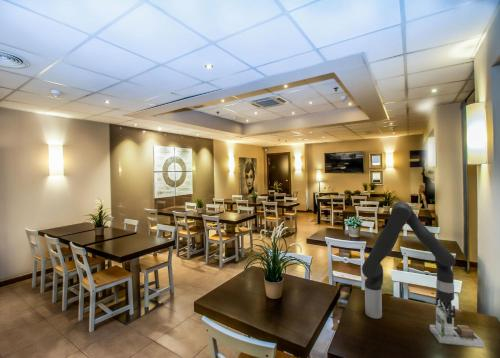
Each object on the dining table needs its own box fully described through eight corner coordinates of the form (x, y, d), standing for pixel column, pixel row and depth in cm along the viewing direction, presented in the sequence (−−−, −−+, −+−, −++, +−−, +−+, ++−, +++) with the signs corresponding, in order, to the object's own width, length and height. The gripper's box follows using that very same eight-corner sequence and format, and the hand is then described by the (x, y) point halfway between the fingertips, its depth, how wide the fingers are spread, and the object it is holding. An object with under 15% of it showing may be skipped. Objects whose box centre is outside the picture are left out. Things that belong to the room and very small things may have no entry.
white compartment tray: (429, 329, 140) (429, 324, 140) (469, 333, 136) (469, 328, 136) (439, 342, 130) (439, 337, 130) (483, 347, 125) (483, 341, 125)
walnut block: (456, 335, 135) (456, 324, 135) (467, 336, 134) (467, 325, 134) (462, 342, 130) (462, 330, 130) (473, 343, 129) (473, 331, 129)
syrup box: (435, 333, 137) (435, 307, 137) (446, 333, 137) (446, 307, 137) (442, 340, 132) (442, 312, 131) (454, 340, 131) (454, 313, 131)
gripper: (430, 282, 141) (430, 310, 142) (444, 294, 127) (444, 326, 128) (445, 283, 140) (445, 312, 140) (461, 295, 126) (461, 327, 126)
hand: (444, 318), depth 134 cm, fingers open, 8 cm apart
